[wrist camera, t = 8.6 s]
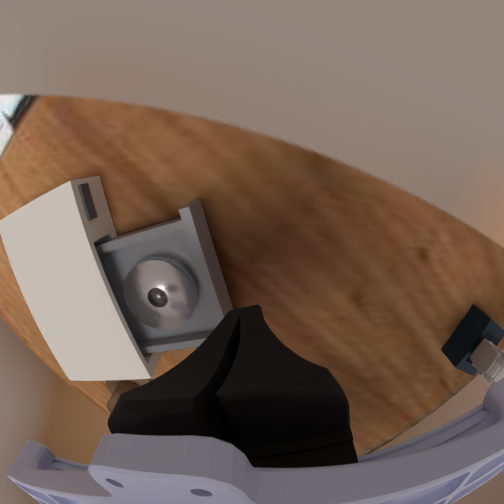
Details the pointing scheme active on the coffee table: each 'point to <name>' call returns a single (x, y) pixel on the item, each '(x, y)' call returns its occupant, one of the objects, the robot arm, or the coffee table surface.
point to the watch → (477, 346)
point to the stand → (122, 389)
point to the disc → (161, 292)
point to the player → (73, 282)
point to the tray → (184, 249)
